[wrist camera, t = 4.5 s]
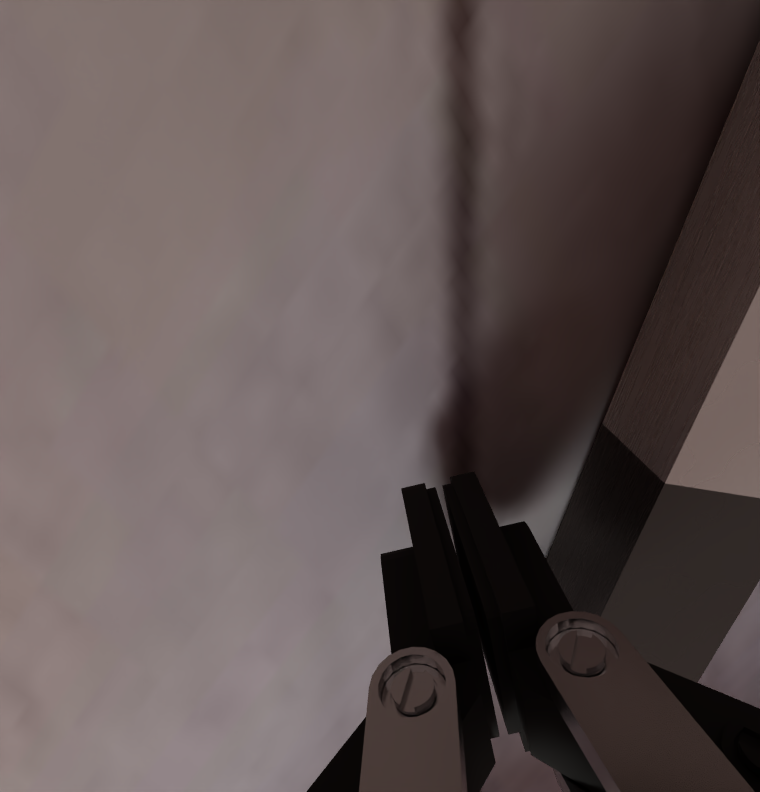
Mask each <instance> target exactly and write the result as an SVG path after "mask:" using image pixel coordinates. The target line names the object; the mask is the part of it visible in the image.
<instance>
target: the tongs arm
mask: <svg viewBox="0 0 760 792" xmlns="http://www.w3.org/2000/svg"><path fill="white" fill-rule="evenodd" d="M547 562H548V564H549V566H550V568H551V570H552V571H553V573H554V575H555V577H556V579H557V581H558V583H559V585H560V586H561V588H562V590H563V592H564V594H565V596H566V598H567V599H568V601H569V603H570V605H571V607H572V609H573V611H578V612H587V613H591V614H595V615H598V616H600V617H602V618H604V619H606V620H608V621H610V622H611V623H612V624H613V625H615V626H616V627H617V628H618V629H619V630H620V631H621V632H622V633H623V634H624V636H625V637H626V638H627V639H628V640H629V642H630V643H631V644H632V645H633V646H634V648H635V649H636V650H637V651H638V652H639V654H640V655H641V656H642V657H643V658H644V660H645V661H646V662H648V663H651V664H653V665H655V666H658V667H660V668H663V669H665V670H668V671H670V672H672V673H675V674H677V675H680V676H682V677H684V678H687V679H689V680H692V681H694V682H696V683H697V682H698V681H699V679H700V677H701V676H702V674H703V672H704V671H705V669H706V667H707V666H708V664H709V662H710V661H711V659H712V657H713V656H714V654H715V653H716V651H717V649H718V648H719V646H720V644H721V643H722V641H723V639H724V638H725V636H726V634H727V633H728V631H729V629H730V628H731V626H732V625H733V623H734V621H735V620H736V618H737V616H738V615H739V613H740V611H741V610H742V608H743V606H744V605H745V603H746V601H747V600H748V598H749V596H750V595H751V593H752V592H753V590H754V588H755V587H756V585H757V583H758V582H759V580H760V40H759V42H758V45H757V47H756V50H755V52H754V55H753V57H752V59H751V62H750V64H749V67H748V69H747V72H746V74H745V76H744V79H743V81H742V84H741V86H740V89H739V91H738V94H737V96H736V98H735V101H734V103H733V106H732V108H731V111H730V113H729V116H728V118H727V120H726V123H725V125H724V128H723V130H722V133H721V135H720V138H719V140H718V142H717V145H716V147H715V150H714V152H713V155H712V157H711V159H710V162H709V164H708V167H707V169H706V172H705V174H704V177H703V179H702V181H701V184H700V186H699V189H698V191H697V194H696V196H695V199H694V201H693V203H692V206H691V208H690V211H689V213H688V216H687V218H686V221H685V223H684V225H683V228H682V230H681V233H680V235H679V238H678V240H677V242H676V245H675V247H674V250H673V252H672V255H671V257H670V260H669V262H668V264H667V267H666V269H665V272H664V274H663V277H662V279H661V282H660V284H659V286H658V289H657V291H656V294H655V296H654V299H653V301H652V304H651V306H650V308H649V311H648V313H647V316H646V318H645V321H644V323H643V326H642V328H641V330H640V333H639V335H638V338H637V340H636V343H635V345H634V347H633V350H632V352H631V355H630V357H629V360H628V362H627V365H626V367H625V369H624V372H623V374H622V377H621V379H620V382H619V384H618V387H617V389H616V391H615V394H614V396H613V399H612V401H611V404H610V406H609V409H608V411H607V413H606V416H605V418H604V421H603V423H602V426H601V428H600V430H599V433H598V435H597V438H596V440H595V443H594V445H593V448H592V450H591V452H590V455H589V457H588V460H587V462H586V465H585V467H584V470H583V472H582V474H581V477H580V479H579V482H578V484H577V487H576V489H575V492H574V494H573V496H572V499H571V501H570V504H569V506H568V509H567V511H566V513H565V516H564V518H563V521H562V523H561V526H560V528H559V531H558V533H557V535H556V538H555V540H554V543H553V545H552V548H551V550H550V553H549V555H548V557H547Z"/></svg>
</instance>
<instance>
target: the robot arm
mask: <svg viewBox="0 0 760 792" xmlns="http://www.w3.org/2000/svg"><path fill="white" fill-rule="evenodd" d="M450 480H451V484H447V485H443V491H444V496H445V501H446V505H447V510H448V515H449V520H450V525H451V530H452V535H453V539H454V544H455V549H456V552H455V549H454V546H453V542H452V539H451V536H450V533H449V529H448V526H447V523H446V520H445V517H444V513H443V510H442V507H441V504H440V500H439V497H438V494H437V491H436V488H435V487H434V488H430V489H426V486H425V483H423V484H418V485H414V486H410V487H405V488H401V489H402V494H403V499H404V504H405V509H406V514H407V519H408V524H409V529H410V534H411V539H412V544H413V547H410V548H405V549H401V550H397V551H392V552H388V553H384V554H381V565H382V574H383V583H384V592H385V601H386V610H387V618H388V627H389V636H390V645H391V655H389V656H388V657H387V658H386V659H385V660H383V661H382V662H381V663H380V664H379V665H378V667H377V669H376V670H375V672H374V674H373V675H372V678H371V682H370V686H369V693H368V703H367V714H366V717H365V719H364V720H363V721H362V722H361V724H360V725H359V726H358V728H357V729H356V730H355V731H354V733H353V734H352V735H351V736H350V738H349V739H348V740H347V741H346V743H345V744H344V745H343V746H342V748H341V749H340V750H339V751H338V753H337V754H336V755H335V756H334V758H333V759H332V760H331V762H330V763H329V764H328V765H327V767H326V768H325V769H324V770H323V772H322V773H321V774H320V775H319V777H318V778H317V779H316V780H315V782H314V783H313V784H312V785H311V787H310V788H309V789H308V790H307V792H482V791H481V788H482V786H483V784H484V782H485V781H486V779H487V777H488V775H489V774H490V772H491V770H492V768H493V767H494V765H495V758H494V754H493V749H492V744H491V740H490V739H491V738H495V737H499V730H498V725H497V720H496V715H495V710H494V705H493V700H492V695H491V690H490V685H489V680H488V675H487V670H486V665H485V660H484V656H485V659H486V662H487V666H488V669H489V672H490V676H491V679H492V682H493V686H494V689H495V692H496V695H497V699H498V702H499V705H500V709H501V712H502V715H503V718H504V722H505V725H506V728H507V731H508V734H513V733H518V732H519V733H520V736H521V740H522V743H523V746H524V749H525V752H527V751H530V752H531V755H532V756H534V757H535V758H537V759H539V760H540V761H542V762H544V763H545V764H547V765H549V766H550V767H552V768H553V770H554V773H555V776H556V779H557V782H558V784H559V786H560V788H561V790H562V792H760V709H759V708H757V707H754V706H752V705H749V704H747V703H745V702H742V701H740V700H737V699H735V698H733V697H730V696H728V695H725V694H723V693H720V692H718V691H716V690H713V689H711V688H708V687H706V686H704V685H701V684H699V683H696V682H694V681H692V680H689V679H687V678H684V677H682V676H680V675H677V674H675V673H672V672H670V671H668V670H665V669H663V668H660V667H658V666H655V665H653V664H651V663H648V662H646V661H645V660H644V658H643V657H642V656H641V655H640V654H639V652H638V651H637V650H636V649H635V648H634V646H633V645H632V644H631V643H630V642H629V640H628V639H627V638H626V637H625V636H624V634H623V633H622V632H621V631H620V630H619V629H618V628H617V627H616V626H615V625H613V624H612V623H611V622H610V621H608V620H606V619H604V618H602V617H600V616H598V615H595V614H591V613H587V612H578V611H573V609H572V607H571V605H570V603H569V601H568V599H567V598H566V596H565V594H564V592H563V590H562V588H561V586H560V585H559V583H558V581H557V579H556V577H555V575H554V573H553V571H552V570H551V568H550V566H549V564H548V562H547V560H546V558H545V557H544V555H543V553H542V551H541V549H540V547H539V545H538V544H537V542H536V540H535V538H534V536H533V534H532V532H531V530H530V529H529V527H528V525H527V524H526V523H525V522H524V521H523V522H519V523H514V524H510V525H506V526H501V527H499V525H498V523H497V520H496V518H495V516H494V514H493V512H492V509H491V507H490V505H489V503H488V501H487V498H486V496H485V494H484V492H483V490H482V487H481V485H480V483H479V481H478V479H477V476H476V474H475V472H470V473H466V474H462V475H457V476H453V477H450ZM456 554H457V555H456ZM482 649H483V650H482ZM483 653H484V655H483Z"/></svg>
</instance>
